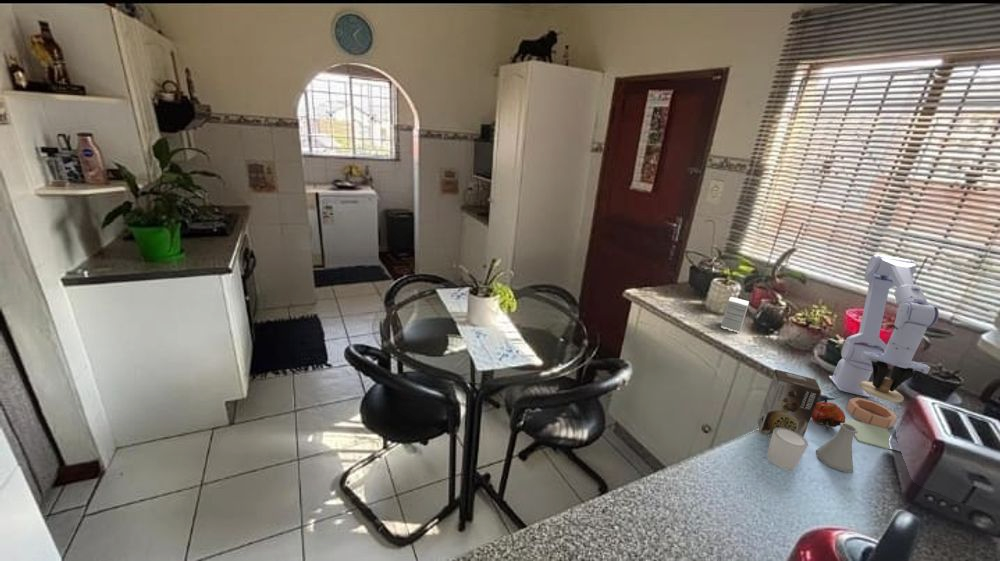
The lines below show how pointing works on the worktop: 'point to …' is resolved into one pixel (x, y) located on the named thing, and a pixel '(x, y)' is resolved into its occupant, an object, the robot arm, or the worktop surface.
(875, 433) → the mat
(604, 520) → the worktop surface
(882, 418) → the dish
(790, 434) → the white cylinder
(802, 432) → the coffee box
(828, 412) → the pomegranate
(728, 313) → the supplement box
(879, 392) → the lid
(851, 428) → the flask
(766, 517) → the worktop surface
